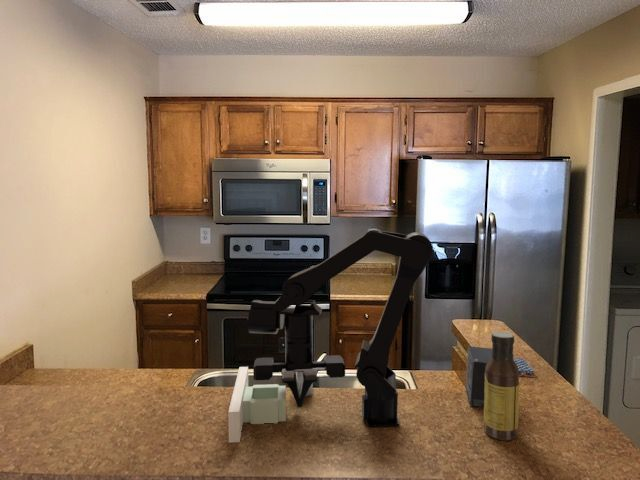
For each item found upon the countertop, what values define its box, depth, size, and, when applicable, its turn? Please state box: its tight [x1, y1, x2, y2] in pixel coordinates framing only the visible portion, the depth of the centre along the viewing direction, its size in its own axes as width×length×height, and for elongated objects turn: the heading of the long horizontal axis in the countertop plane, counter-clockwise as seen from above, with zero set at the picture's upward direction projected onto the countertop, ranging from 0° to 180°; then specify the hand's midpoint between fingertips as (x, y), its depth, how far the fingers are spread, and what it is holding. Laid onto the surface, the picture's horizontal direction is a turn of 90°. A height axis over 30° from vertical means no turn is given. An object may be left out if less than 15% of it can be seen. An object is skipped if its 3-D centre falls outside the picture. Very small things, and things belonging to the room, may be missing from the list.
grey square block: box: [296, 372, 314, 397], centre depth 109 cm, size 4×4×7 cm
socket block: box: [243, 383, 287, 425], centre depth 98 cm, size 9×9×4 cm
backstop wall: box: [227, 366, 249, 444], centre depth 98 cm, size 2×22×6 cm, turn 5°
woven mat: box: [513, 356, 537, 378], centre depth 124 cm, size 10×11×2 cm
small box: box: [465, 345, 492, 409], centre depth 106 cm, size 11×6×10 cm, turn 168°
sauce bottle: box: [483, 330, 520, 441], centre depth 90 cm, size 6×6×20 cm
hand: (299, 406), depth 99 cm, fingers closed
